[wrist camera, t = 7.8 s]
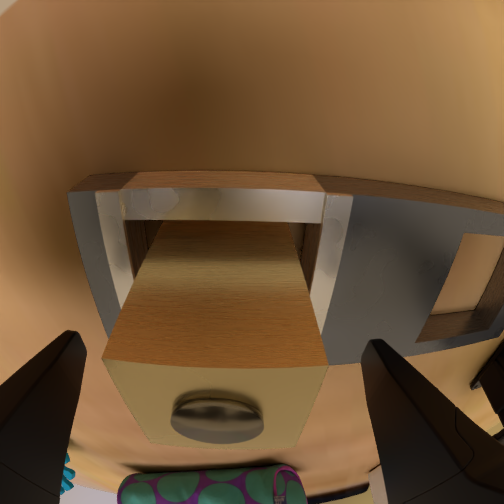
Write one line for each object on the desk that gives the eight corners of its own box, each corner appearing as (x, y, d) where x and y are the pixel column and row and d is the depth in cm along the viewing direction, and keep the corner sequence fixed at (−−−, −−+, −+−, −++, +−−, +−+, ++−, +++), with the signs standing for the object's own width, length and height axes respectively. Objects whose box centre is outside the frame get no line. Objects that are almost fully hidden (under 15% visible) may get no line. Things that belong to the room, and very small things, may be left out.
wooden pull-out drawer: (285, 218, 11) (330, 375, 5) (276, 309, 13) (295, 454, 7) (165, 217, 11) (97, 367, 5) (177, 307, 13) (149, 449, 7)
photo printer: (402, 447, 27) (423, 528, 16) (426, 441, 27) (448, 516, 17) (363, 473, 32) (376, 541, 21) (385, 468, 32) (400, 533, 22)
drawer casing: (534, 210, 11) (556, 226, 9) (486, 318, 15) (500, 339, 13) (90, 175, 9) (63, 194, 8) (126, 332, 14) (116, 362, 12)
